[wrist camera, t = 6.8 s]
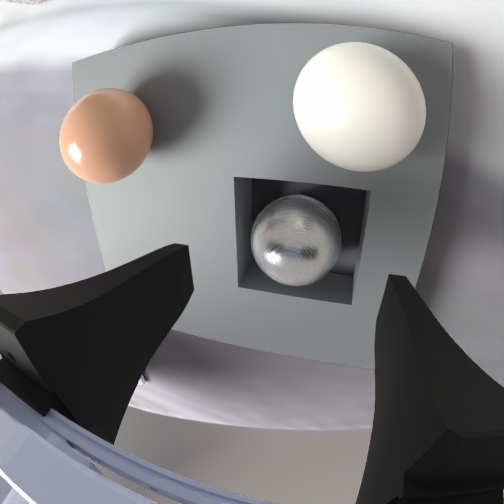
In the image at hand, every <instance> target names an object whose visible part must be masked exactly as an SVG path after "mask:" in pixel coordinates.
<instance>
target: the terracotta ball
mask: <svg viewBox="0 0 504 504" xmlns="http://www.w3.org/2000/svg"><path fill="white" fill-rule="evenodd" d="M152 141H153V122H152V118H151V116H150V113H149V111H148V109H147V107H146V106H145V104H144V103H143V102H142V101H141V100H140V99H139V98H138V97H136V96H135V95H134V94H132V93H130V92H128V91H125V90H122V89H117V88H104V89H99V90H95V91H92V92H90V93H88V94H86V95H85V96H83V97H82V98H80V99H79V100H78V101H77V102H76V103H75V104H74V105H73V106H72V107H71V108H70V110H69V111H68V113H67V114H66V116H65V118H64V120H63V123H62V125H61V129H60V137H59V144H60V151H61V154H62V157H63V159H64V162H65V163H66V165H67V166H68V168H69V169H70V170H71V171H72V172H73V173H74V174H75V175H77V176H78V177H79V178H81V179H83V180H85V181H88V182H91V183H96V184H109V183H113V182H117V181H120V180H122V179H124V178H126V177H128V176H129V175H131V174H132V173H133V172H135V171H136V170H137V169H138V168H139V167H140V166H141V164H142V163H143V162H144V160H145V159H146V157H147V155H148V153H149V151H150V148H151V145H152Z"/></svg>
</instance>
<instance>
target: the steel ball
mask: <svg viewBox="0 0 504 504" xmlns="http://www.w3.org/2000/svg"><path fill="white" fill-rule="evenodd" d="M341 246H342V236H341V230H340V226H339V224H338V221H337V219H336V217H335V216H334V214H333V213H332V212H331V210H330V209H329V208H328V207H327V206H325V205H324V204H323V203H321V202H320V201H318V200H316V199H314V198H312V197H309V196H305V195H287V196H283V197H280V198H278V199H276V200H274V201H272V202H271V203H269V204H268V205H267V206H266V207H265V208H264V209H263V210H262V211H261V212H260V213H259V215H258V216H257V218H256V220H255V222H254V224H253V228H252V232H251V249H252V253H253V256H254V259H255V261H256V263H257V265H258V266H259V267H260V269H261V270H262V271H263V272H264V273H265V274H266V275H267V276H268V277H270V278H271V279H272V280H274V281H276V282H278V283H281V284H284V285H288V286H304V285H309V284H312V283H314V282H316V281H318V280H320V279H322V278H323V277H324V276H326V275H327V274H328V273H329V272H330V271H331V270H332V268H333V267H334V265H335V264H336V262H337V260H338V258H339V255H340V251H341Z"/></svg>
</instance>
